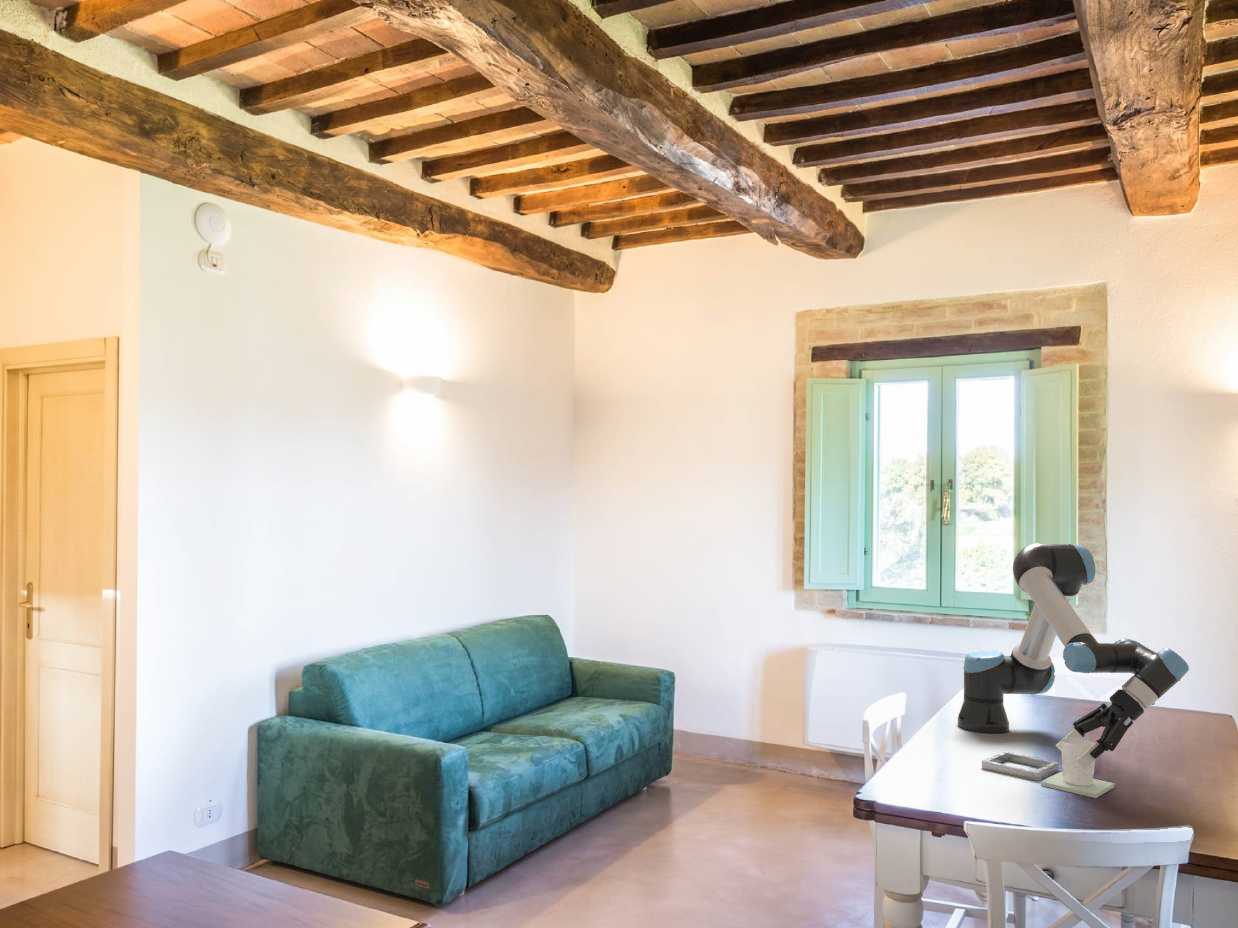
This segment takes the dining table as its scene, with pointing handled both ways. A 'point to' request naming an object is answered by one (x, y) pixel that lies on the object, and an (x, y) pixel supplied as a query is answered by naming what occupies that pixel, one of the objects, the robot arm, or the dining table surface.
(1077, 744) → the white cup
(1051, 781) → the sage tile
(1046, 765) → the square frame
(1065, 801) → the dining table surface
